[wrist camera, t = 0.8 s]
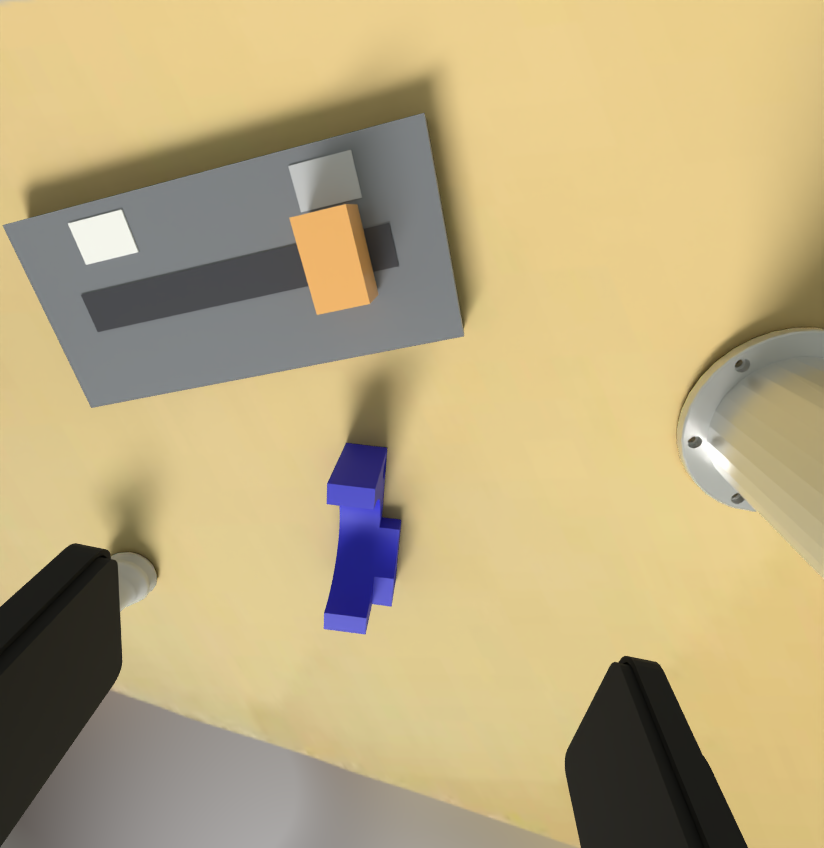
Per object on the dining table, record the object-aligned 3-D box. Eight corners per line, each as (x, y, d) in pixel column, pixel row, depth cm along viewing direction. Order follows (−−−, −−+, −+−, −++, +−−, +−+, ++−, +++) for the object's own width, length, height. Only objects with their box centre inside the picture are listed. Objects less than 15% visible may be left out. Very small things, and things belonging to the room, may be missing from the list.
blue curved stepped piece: (395, 579, 41) (386, 637, 36) (341, 572, 41) (323, 628, 36) (408, 449, 36) (399, 492, 31) (346, 442, 37) (327, 483, 31)
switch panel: (426, 119, 28) (424, 112, 26) (463, 328, 32) (464, 336, 31) (28, 224, 32) (1, 225, 30) (109, 397, 37) (90, 408, 35)
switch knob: (357, 204, 28) (345, 204, 25) (378, 294, 30) (369, 303, 27) (306, 216, 28) (289, 217, 26) (330, 304, 30) (317, 315, 27)
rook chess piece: (114, 540, 42) (41, 611, 35) (165, 562, 42) (104, 636, 35) (104, 578, 44) (32, 652, 36) (153, 598, 44) (92, 676, 37)
